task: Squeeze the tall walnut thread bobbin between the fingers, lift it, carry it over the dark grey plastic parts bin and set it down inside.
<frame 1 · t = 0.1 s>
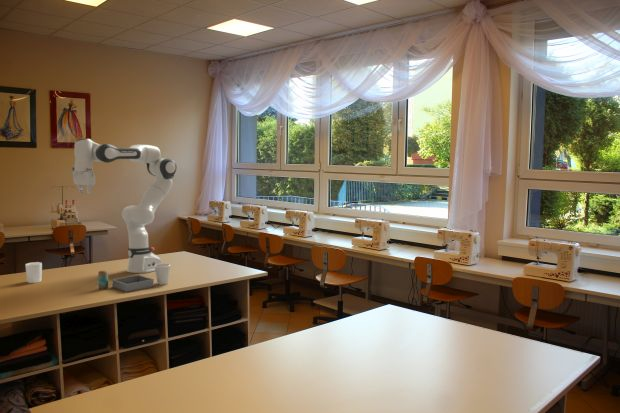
hand: (84, 193, 273), 48 cm above the table, fingers open, 8 cm apart
bin: (133, 287, 261), on the table
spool: (103, 288, 258), on the table
white cup: (34, 282, 272), on the table
dixie cup: (162, 283, 269), on the table
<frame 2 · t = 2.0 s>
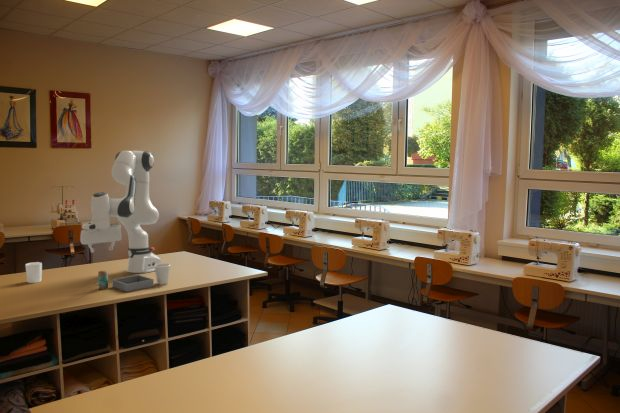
hand: (101, 251, 256), 20 cm above the table, fingers open, 8 cm apart
nothing on the table moved.
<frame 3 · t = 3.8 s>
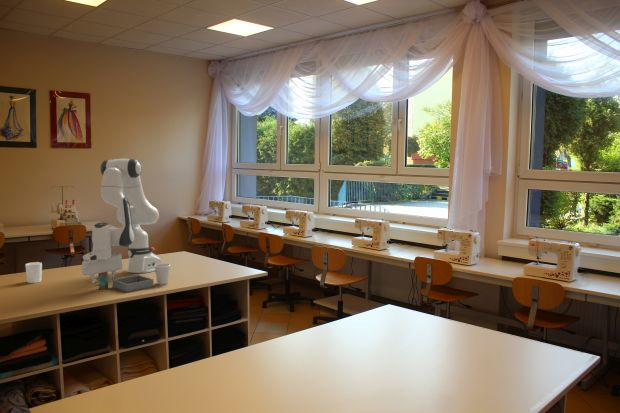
hand: (103, 281, 257), 4 cm above the table, fingers open, 8 cm apart
nothing on the table moved.
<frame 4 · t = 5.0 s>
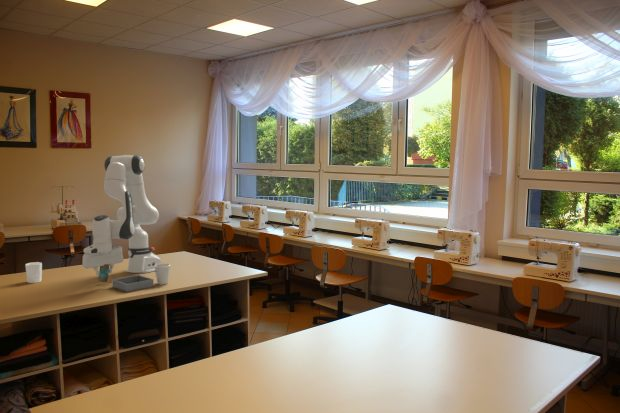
hand: (104, 273, 258), 8 cm above the table, fingers closed on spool, 5 cm apart
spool: (102, 281, 258), point 4 cm above the table, tilted 8°, touching gripper
everything else where it was.
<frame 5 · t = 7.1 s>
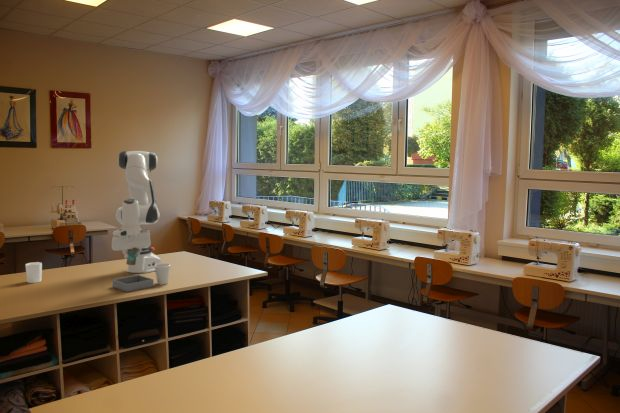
hand: (132, 257, 260), 16 cm above the table, fingers closed on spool, 5 cm apart
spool: (130, 264, 259), point 12 cm above the table, tilted 10°, touching gripper
everything else where it was.
when the fingers open (6 cm above the table, at t = 9.2 s): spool drops 1 cm, resting on bin.
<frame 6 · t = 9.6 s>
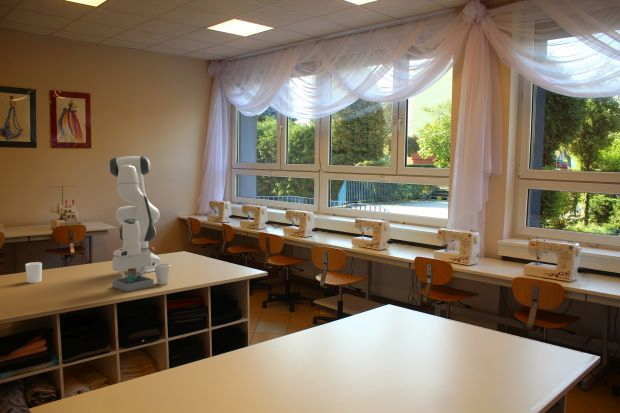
hand: (132, 276, 261), 6 cm above the table, fingers open, 8 cm apart
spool: (132, 286, 261), point 1 cm above the table, touching bin
everything else where it was.
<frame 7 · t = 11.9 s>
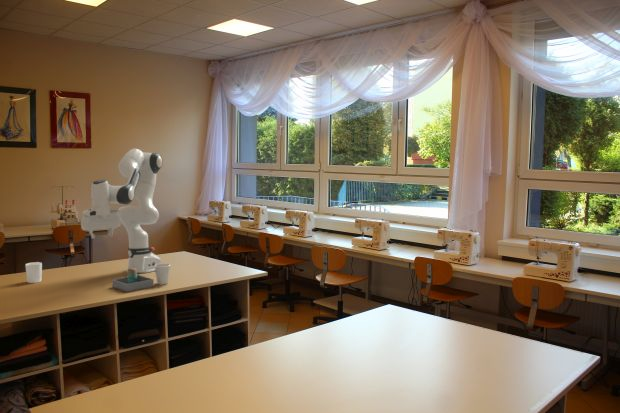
hand: (102, 237, 263), 26 cm above the table, fingers open, 8 cm apart
nothing on the table moved.
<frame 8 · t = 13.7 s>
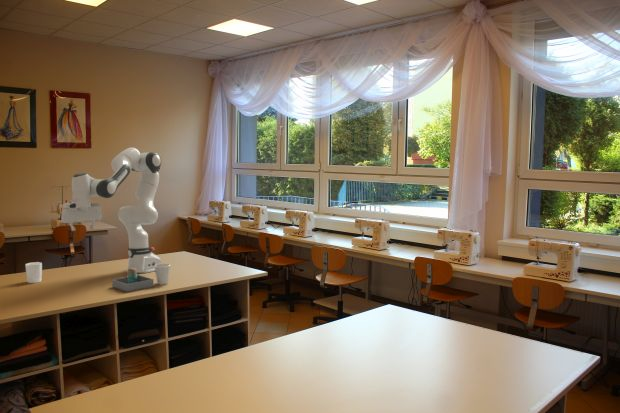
hand: (82, 229, 266), 29 cm above the table, fingers open, 8 cm apart
nothing on the table moved.
at the end: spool inside the target area on the bin (0.3 cm from its centre), point 0.5 cm above the bin's base; the gripper is holding nothing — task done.
